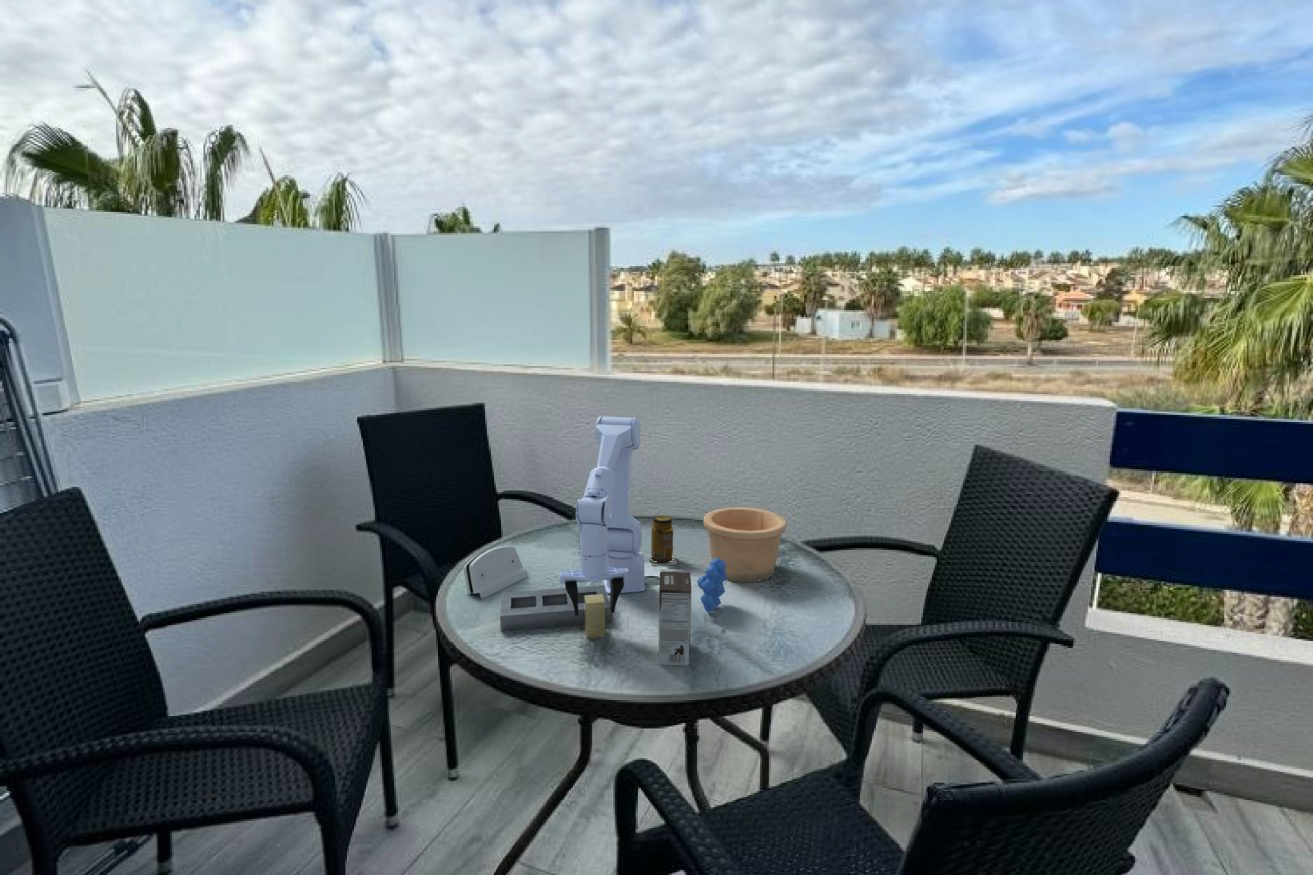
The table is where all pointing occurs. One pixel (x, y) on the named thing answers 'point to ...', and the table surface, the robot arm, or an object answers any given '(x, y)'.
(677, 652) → the coffee box
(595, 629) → the brass block
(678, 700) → the table surface
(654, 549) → the condiment
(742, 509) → the pottery
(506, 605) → the grey block holder
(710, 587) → the grapes
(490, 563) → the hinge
